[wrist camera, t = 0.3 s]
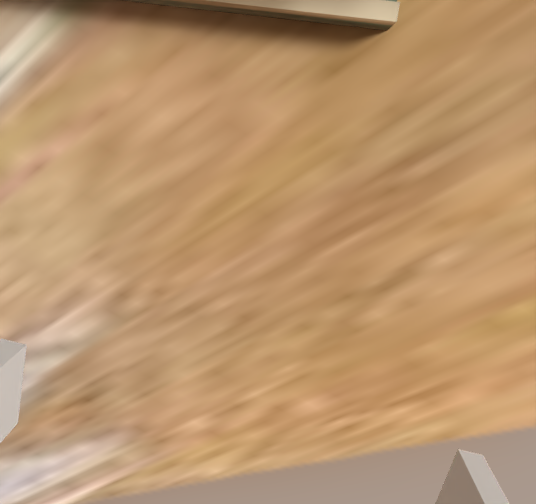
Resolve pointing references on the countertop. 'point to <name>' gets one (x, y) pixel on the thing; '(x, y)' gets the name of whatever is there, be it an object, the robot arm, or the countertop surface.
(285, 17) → the tray
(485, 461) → the robot arm
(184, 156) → the countertop surface
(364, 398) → the countertop surface
